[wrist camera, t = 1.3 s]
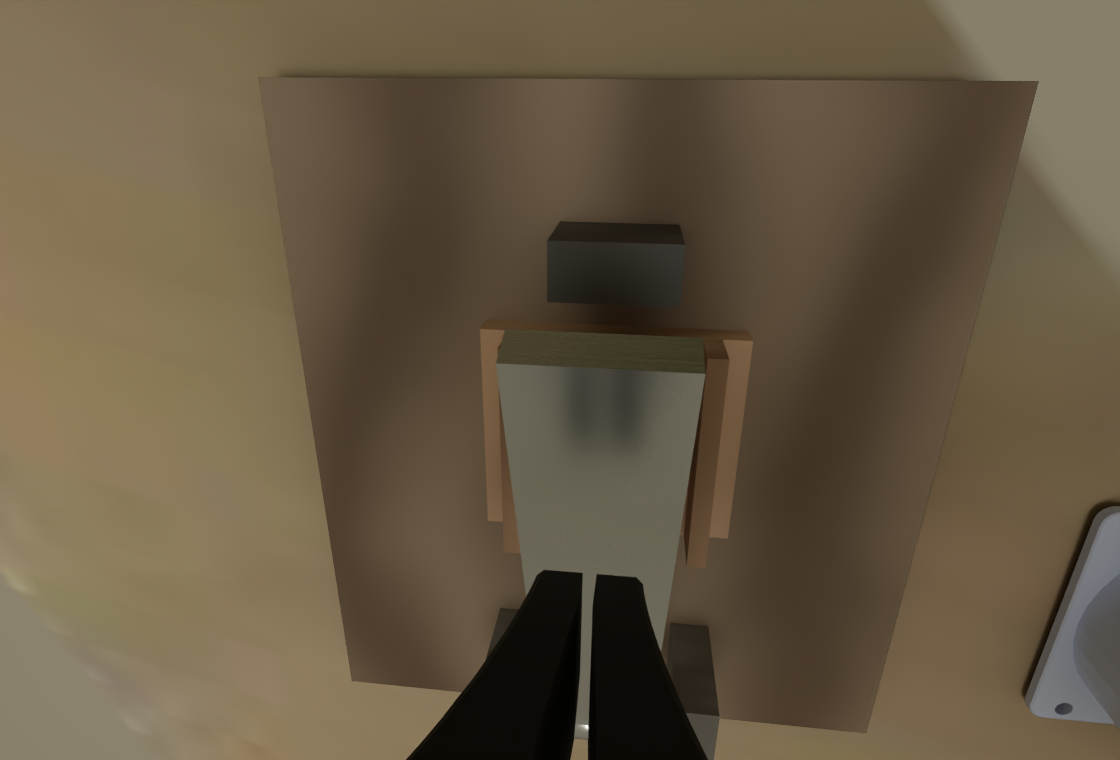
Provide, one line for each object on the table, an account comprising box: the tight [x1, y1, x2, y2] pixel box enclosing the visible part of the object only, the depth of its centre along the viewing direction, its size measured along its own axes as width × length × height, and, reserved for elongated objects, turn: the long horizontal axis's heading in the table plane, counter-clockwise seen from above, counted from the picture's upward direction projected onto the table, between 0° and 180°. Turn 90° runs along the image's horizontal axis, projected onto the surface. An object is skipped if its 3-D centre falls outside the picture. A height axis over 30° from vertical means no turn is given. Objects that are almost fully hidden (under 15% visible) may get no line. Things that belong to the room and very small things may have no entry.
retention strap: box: [496, 329, 705, 740], centre depth 15 cm, size 4×15×1 cm, turn 179°
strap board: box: [258, 77, 1038, 760], centre depth 18 cm, size 18×20×4 cm
